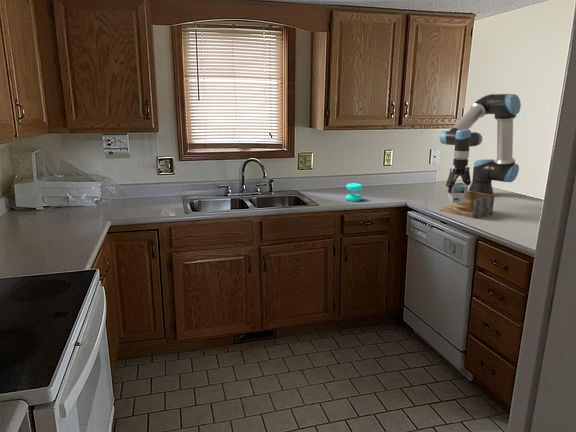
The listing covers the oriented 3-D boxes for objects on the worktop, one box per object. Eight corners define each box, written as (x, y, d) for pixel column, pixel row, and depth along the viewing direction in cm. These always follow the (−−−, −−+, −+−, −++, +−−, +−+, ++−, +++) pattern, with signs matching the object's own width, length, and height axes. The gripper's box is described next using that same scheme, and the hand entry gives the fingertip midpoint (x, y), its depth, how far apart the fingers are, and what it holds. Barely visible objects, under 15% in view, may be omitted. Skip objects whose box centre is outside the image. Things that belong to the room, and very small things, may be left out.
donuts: (359, 182, 280) (364, 185, 271) (358, 198, 283) (363, 201, 273) (344, 183, 279) (348, 186, 269) (343, 198, 281) (348, 202, 272)
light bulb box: (464, 203, 241) (466, 184, 238) (451, 203, 242) (453, 184, 239) (461, 199, 251) (463, 181, 248) (449, 199, 252) (450, 180, 249)
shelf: (457, 206, 258) (459, 189, 255) (492, 214, 241) (494, 195, 238) (440, 210, 249) (441, 192, 247) (474, 218, 232) (476, 198, 229)
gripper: (468, 156, 250) (464, 193, 255) (441, 159, 237) (437, 198, 242) (480, 157, 244) (476, 196, 249) (453, 160, 231) (449, 201, 236)
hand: (457, 197), depth 246 cm, fingers closed on light bulb box, 12 cm apart
